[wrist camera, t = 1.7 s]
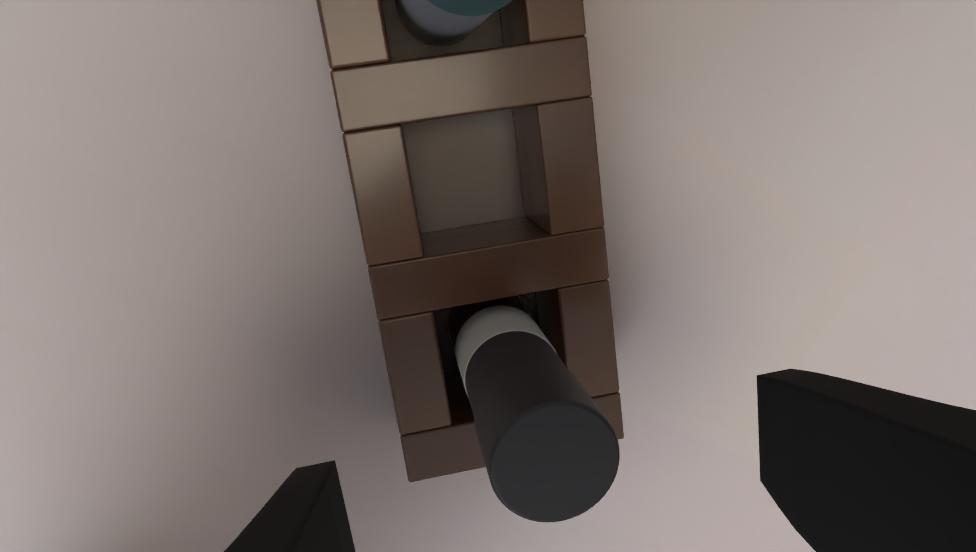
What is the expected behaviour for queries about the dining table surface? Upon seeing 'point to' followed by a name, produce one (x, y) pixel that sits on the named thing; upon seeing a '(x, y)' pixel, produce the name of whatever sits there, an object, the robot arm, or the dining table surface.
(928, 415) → the robot arm
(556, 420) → the black marker
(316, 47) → the dining table surface
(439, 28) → the teal marker
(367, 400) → the dining table surface
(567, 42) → the marker stand
